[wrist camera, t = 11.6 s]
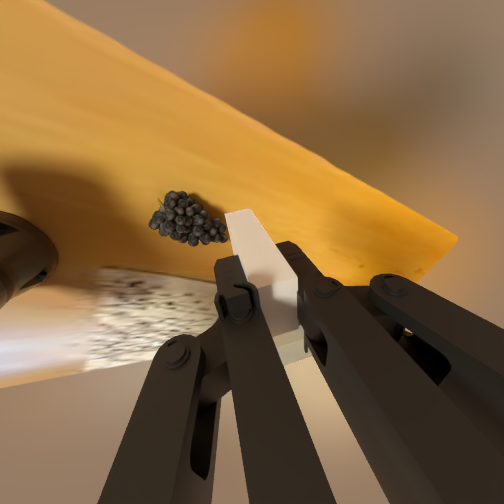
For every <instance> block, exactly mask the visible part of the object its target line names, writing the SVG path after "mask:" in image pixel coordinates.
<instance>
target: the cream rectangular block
mask: <svg viewBox="0 0 504 504" xmlns="http://www.w3.org/2000/svg"><path fill="white" fill-rule="evenodd" d="M272 338H273V340H274V343H275V345H276V348H277V351H278V353H279V356H280V358H281V361H282V364H283V366H284V365H287V364H290V363H293V362H296V361H299V360H301V359H304V358H308V357H310V356H313V355H312V353H311V352H310V350H309V348H308V353H305V350H304V330H303V328H302V326H301V325H299V329H297V330H294V331H291V332H287V333H284V334H281V335H278V336H275V337H272Z"/></svg>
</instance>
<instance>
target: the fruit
mask: <svg viewBox="0 0 504 504" xmlns="http://www.w3.org/2000/svg"><path fill="white" fill-rule="evenodd" d="M187 198H188V195H187V193H186V192H184V191H181V192H178V194H177V193H176V192H174V191H170V192H169V193H167V194H166V196H165V199H164V200H165V201H164V205H163V204H162V202H161V201H160V200H159V198H157V199H158V202H159V204H160V205H161V207H160V208H159V211H156V212H154V214H153V216H152V219H151V220H150V222H149V227H150V228H151V229H153V230H156V229H159V234H160V235H161V236H167V235H170V238H172V239H173V240H178V242H180V243H185V242H187V241H188V244H189V245H190V246H193V247H194V246H197V245H198V243H199V240H200V241H201V242H202V244H204V245H207V244H209V243H210V242H212V241H213V242H216V243H217V242H219V241H220V242H221V243H224V242H226V241H227V239H228V237H227V235H226V234H224V233H223V232H225V230H226V226H225V225H224V224H222V223H221V220H220V219H219V218H212V217H210V215H209V214H208V212H207V211H205V210H203V206H202V205H201V204H197V203H196V202H195V200H194V199H192V198H188V199H187ZM193 214H194V215H193ZM191 223H192V224H194V225H191ZM159 227H160V228H159ZM203 230H204V231H203Z"/></svg>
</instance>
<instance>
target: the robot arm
mask: <svg viewBox="0 0 504 504" xmlns="http://www.w3.org/2000/svg"><path fill="white" fill-rule="evenodd" d="M225 218H226V222H227V227H228V231H229V235H230V240H231V244H232V249H233V253H234V256H230V257H226V258H222V259H218V260H217V261H216V264H215V266H214V272H215V278H216V284H217V290H218V292H217V294H216V295H215V300H214V303H215V306H216V309H217V312H218V315H219V318H218V319H217V321H216V322H215V324H214V325H213V326H212V327H210V328H209V329H208V330H206V331H205V332H203V333H202V334H200V335H198V336H197V337H194V336H192V335H187V334H182V335H178V336H175V337H173V338H171V339H169V340H168V341H166V342H165V343H164V344H163V345H162V346H161V347H160V348H159V349H158V351H157V353H156V355H155V356H154V358H153V361H152V364H151V367H150V369H149V371H148V374H147V377H146V379H145V382H144V384H143V387H142V389H141V392H140V395H139V397H138V400H137V403H136V405H135V408H134V410H133V413H132V415H131V418H130V421H129V423H128V426H127V428H126V431H125V433H124V436H123V439H122V441H121V444H120V446H119V449H118V452H117V454H116V457H115V459H114V462H113V465H112V467H111V470H110V472H109V475H108V478H107V480H106V483H105V485H104V488H103V490H102V493H101V496H100V498H99V501H98V503H97V504H211V501H212V491H213V480H214V470H215V459H216V449H217V437H218V428H219V418H220V407H221V397H222V396H224V395H225V394H226V393H227V392H229V391H230V390H232V396H233V402H234V409H235V414H236V421H237V428H238V434H239V440H240V447H241V453H242V459H243V465H244V472H245V478H246V485H247V491H248V497H249V504H337V503H336V501H335V498H334V496H333V493H332V490H331V488H330V485H329V483H328V480H327V478H326V475H325V472H324V470H323V467H322V465H321V462H320V459H319V457H318V454H317V452H316V449H315V447H314V444H313V441H312V439H311V436H310V434H309V431H308V428H307V426H306V423H305V421H304V418H303V415H302V413H301V410H300V408H299V405H298V403H297V400H296V397H295V395H294V392H293V390H292V387H291V384H290V382H289V379H288V377H287V374H286V371H285V369H284V366H283V364H282V361H281V358H280V356H279V353H278V351H277V348H276V345H275V343H274V340H273V338H272V337H275V336H278V335H281V334H284V333H287V332H291V331H294V330H297V329H299V322H300V324H301V326H302V328H303V330H304V350H305V353H308V348H309V350H310V352H311V353H312V355H313V357H314V359H315V361H316V363H317V365H318V367H319V369H320V371H321V373H322V374H323V376H324V378H325V380H326V382H327V384H328V386H329V388H330V390H331V392H332V394H333V396H334V398H335V399H336V401H337V403H338V405H339V407H340V409H341V411H342V413H343V415H344V417H345V419H346V420H347V422H348V424H349V426H350V428H351V430H352V432H353V434H354V436H355V438H356V439H357V442H358V444H359V445H360V447H361V449H362V451H363V453H364V455H365V457H366V459H367V461H368V463H369V465H370V467H371V468H372V470H373V472H374V474H375V476H376V478H377V480H378V482H379V484H380V486H381V488H382V489H383V492H384V493H385V495H386V497H387V499H388V501H389V503H390V504H504V329H502V328H500V327H498V326H496V325H495V324H493V323H490V322H489V321H487V320H485V319H483V318H481V317H479V316H477V315H475V314H473V313H471V312H470V311H468V310H466V309H464V308H462V307H460V306H458V305H456V304H454V303H452V302H450V301H449V300H447V299H445V298H443V297H441V296H439V295H437V294H435V293H433V292H431V291H429V290H427V289H426V288H424V287H422V286H420V285H418V284H416V283H414V282H412V281H410V280H408V279H406V278H404V277H401V276H399V275H394V274H379V275H376V276H374V277H373V278H372V279H371V281H370V285H369V286H344V285H343V284H341V283H340V282H339V281H338V280H336V279H333V278H330V277H324V275H323V274H322V273H321V272H320V271H319V270H318V269H317V267H316V266H315V265H314V264H313V263H312V262H311V261H310V259H309V258H308V257H307V256H306V255H305V254H304V252H302V250H301V249H300V248H299V247H298V246H297V245H296V244H294V243H292V242H290V241H285V242H282V243H278V244H274V242H273V241H272V239H271V238H270V237H269V235H268V234H267V232H266V231H265V229H264V228H263V226H262V225H261V224H260V222H259V221H258V219H257V218H256V216H255V215H254V213H253V212H252V211H251V209H250V208H247V209H243V210H239V211H234V212H230V213H226V214H225ZM57 262H58V256H57V252H56V249H55V247H54V245H53V243H52V242H51V241H50V239H49V238H48V237H47V236H46V235H45V234H44V233H43V232H42V231H41V230H39V229H38V228H37V227H35V226H34V225H32V224H30V223H29V222H27V221H25V220H23V219H21V218H19V217H16V216H14V215H11V214H8V213H5V212H1V211H0V309H1V308H2V307H3V306H4V305H5V304H6V303H7V302H8V301H9V300H10V299H12V298H14V297H16V296H18V295H20V294H22V293H24V292H26V291H28V290H30V289H32V288H34V287H36V286H38V285H40V284H41V283H42V282H44V281H45V280H46V279H47V278H48V277H49V276H50V275H51V274H52V273H53V271H54V270H55V268H56V266H57ZM298 320H299V322H298ZM405 328H407V329H408V330H410V331H411V332H412V333H410V332H407V331H405Z"/></svg>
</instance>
